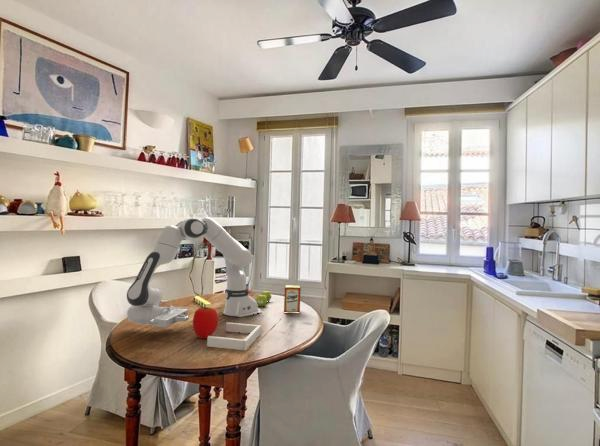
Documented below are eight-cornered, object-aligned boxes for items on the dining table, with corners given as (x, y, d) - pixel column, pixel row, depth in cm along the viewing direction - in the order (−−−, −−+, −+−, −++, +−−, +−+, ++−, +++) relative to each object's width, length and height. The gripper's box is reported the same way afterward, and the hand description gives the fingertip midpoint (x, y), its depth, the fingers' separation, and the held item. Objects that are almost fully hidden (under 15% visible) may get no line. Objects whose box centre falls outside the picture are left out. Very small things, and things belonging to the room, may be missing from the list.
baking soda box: (299, 310, 206) (300, 285, 206) (299, 313, 199) (300, 287, 199) (284, 310, 205) (285, 284, 205) (283, 313, 199) (284, 286, 199)
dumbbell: (266, 307, 211) (266, 296, 211) (254, 306, 212) (254, 295, 212) (271, 301, 228) (272, 291, 228) (260, 300, 229) (261, 290, 229)
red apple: (192, 333, 159) (193, 303, 159) (216, 331, 162) (217, 302, 162) (192, 342, 147) (193, 310, 147) (218, 340, 150) (219, 309, 150)
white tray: (207, 346, 143) (207, 337, 143) (227, 330, 164) (227, 322, 164) (245, 350, 140) (246, 341, 140) (261, 333, 161) (261, 325, 161)
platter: (213, 298, 233) (213, 293, 233) (233, 308, 208) (233, 303, 208) (166, 303, 214) (166, 298, 214) (181, 315, 189) (181, 309, 189)
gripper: (147, 315, 148) (175, 318, 146) (172, 304, 169) (197, 306, 166) (146, 329, 148) (174, 332, 146) (172, 317, 169) (197, 319, 166)
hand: (187, 318), depth 156 cm, fingers closed
